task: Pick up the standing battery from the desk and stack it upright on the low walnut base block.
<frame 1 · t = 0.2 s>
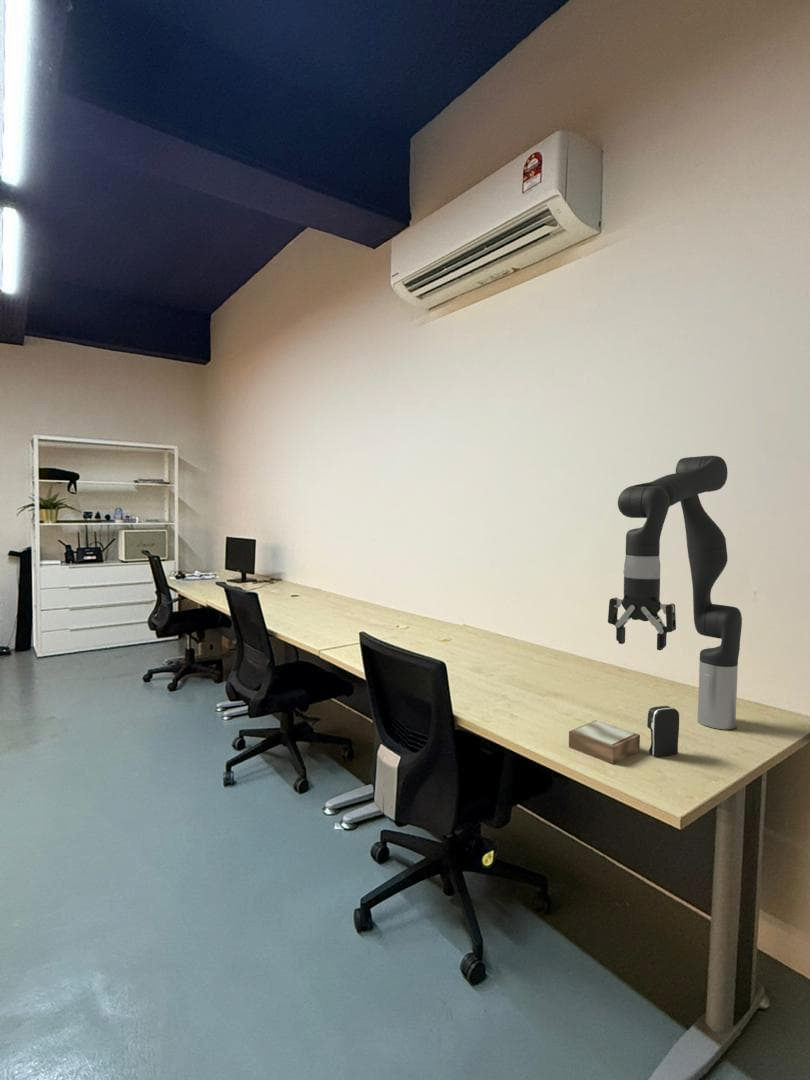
hand: (640, 646, 125), 28 cm above the table, fingers open, 8 cm apart
battery: (661, 754, 134), on the table
base: (603, 748, 136), on the table
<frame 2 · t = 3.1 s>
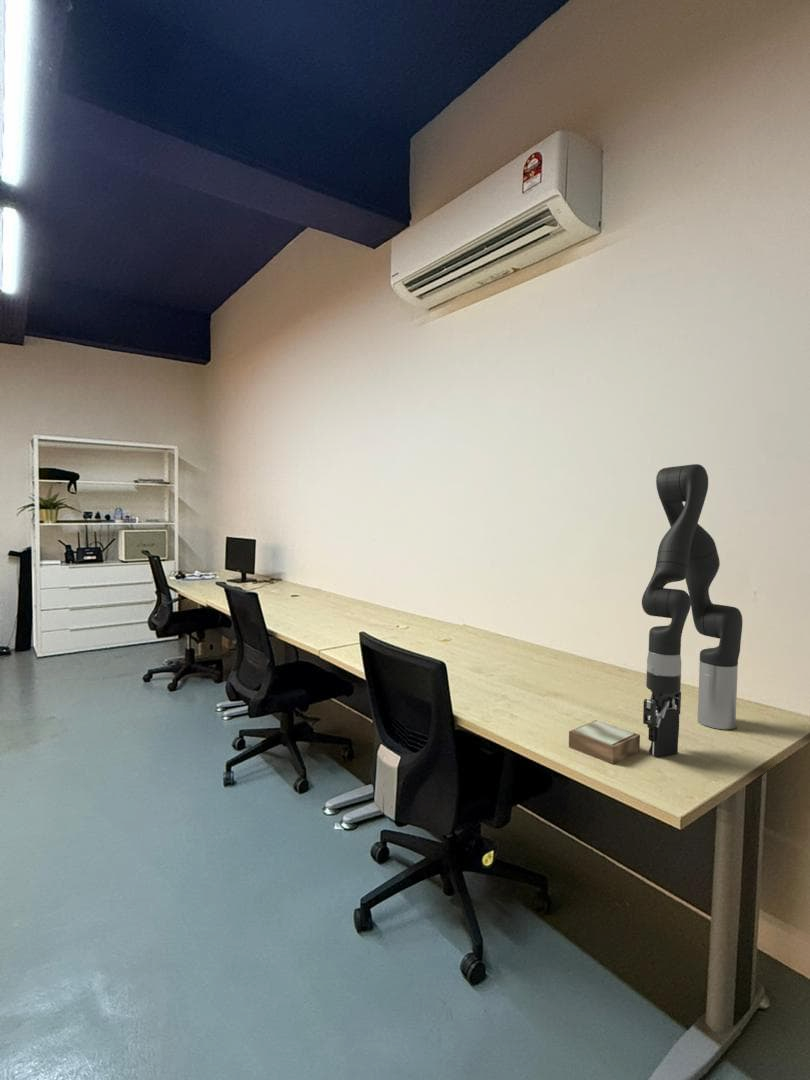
hand: (661, 737, 134), 4 cm above the table, fingers closed on battery, 7 cm apart
battery: (661, 754, 134), on the table, touching gripper
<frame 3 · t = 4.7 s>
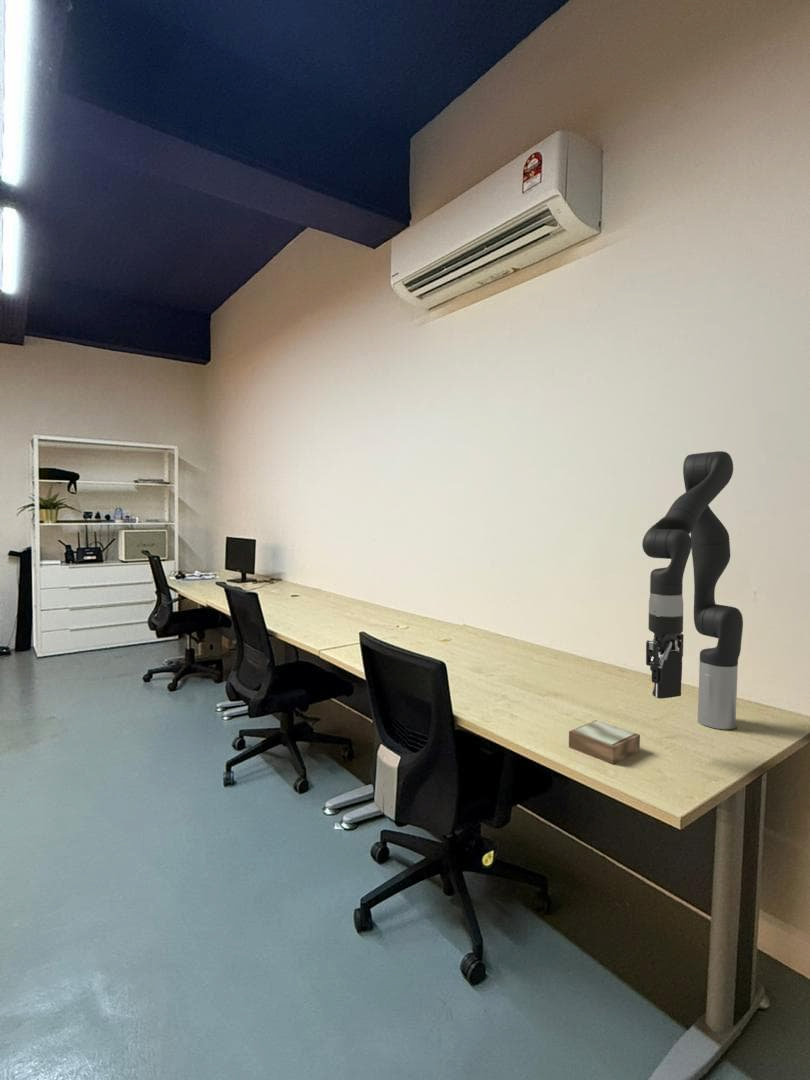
hand: (664, 679, 133), 18 cm above the table, fingers closed on battery, 7 cm apart
battery: (664, 696, 134), point 14 cm above the table, touching gripper
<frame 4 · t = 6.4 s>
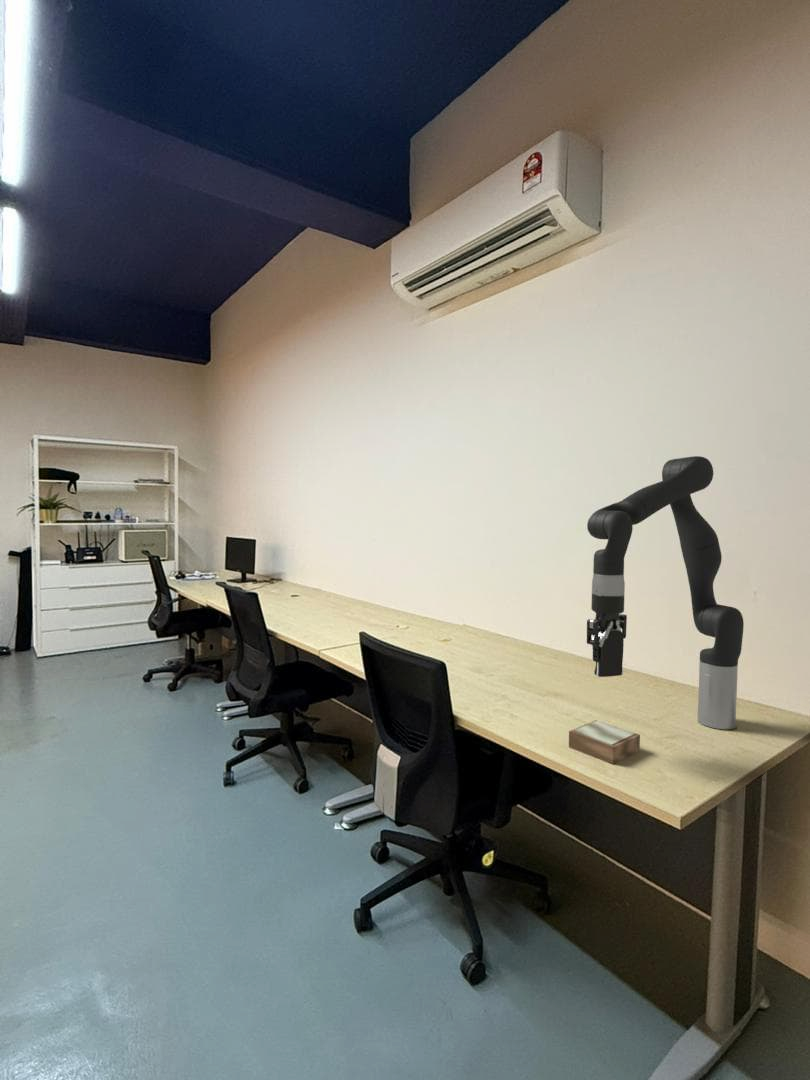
hand: (606, 658, 135), 23 cm above the table, fingers closed on battery, 7 cm apart
battery: (606, 675, 136), point 18 cm above the table, touching gripper
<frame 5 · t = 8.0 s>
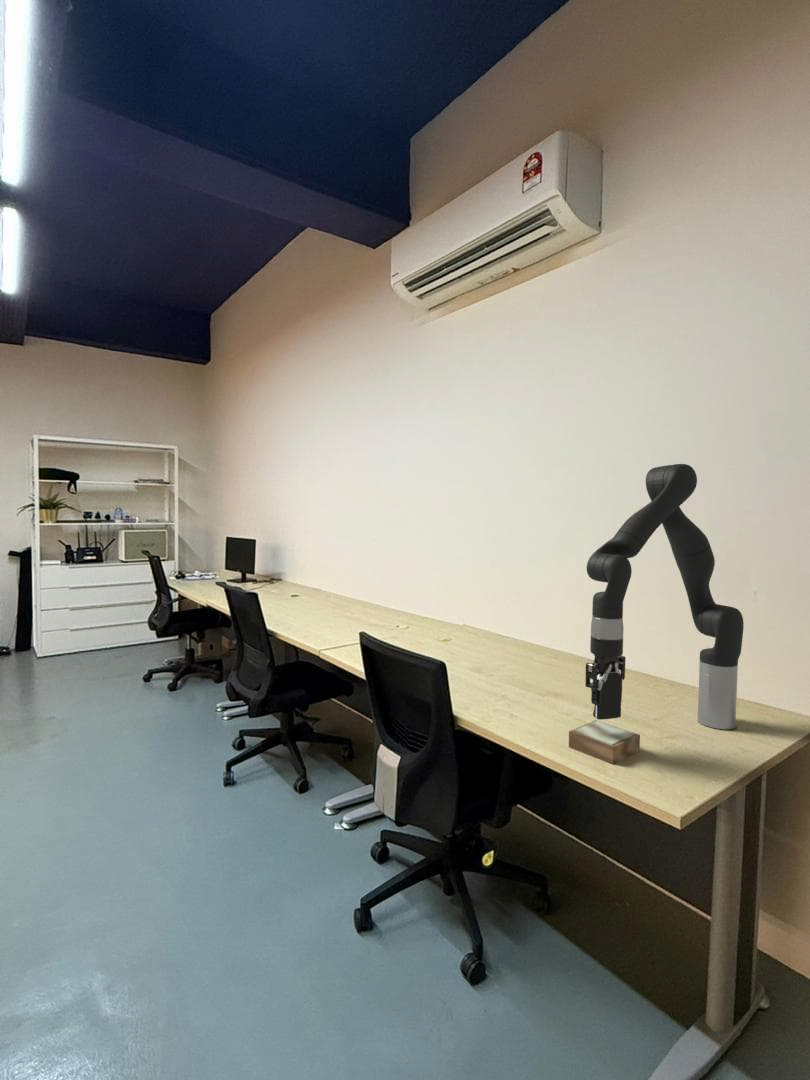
hand: (605, 700, 136), 12 cm above the table, fingers closed on battery, 7 cm apart
battery: (605, 717, 136), point 8 cm above the table, touching gripper
when the fingers open (9 cm above the table, at t = 9.5 s): battery stays where it is, resting on base.
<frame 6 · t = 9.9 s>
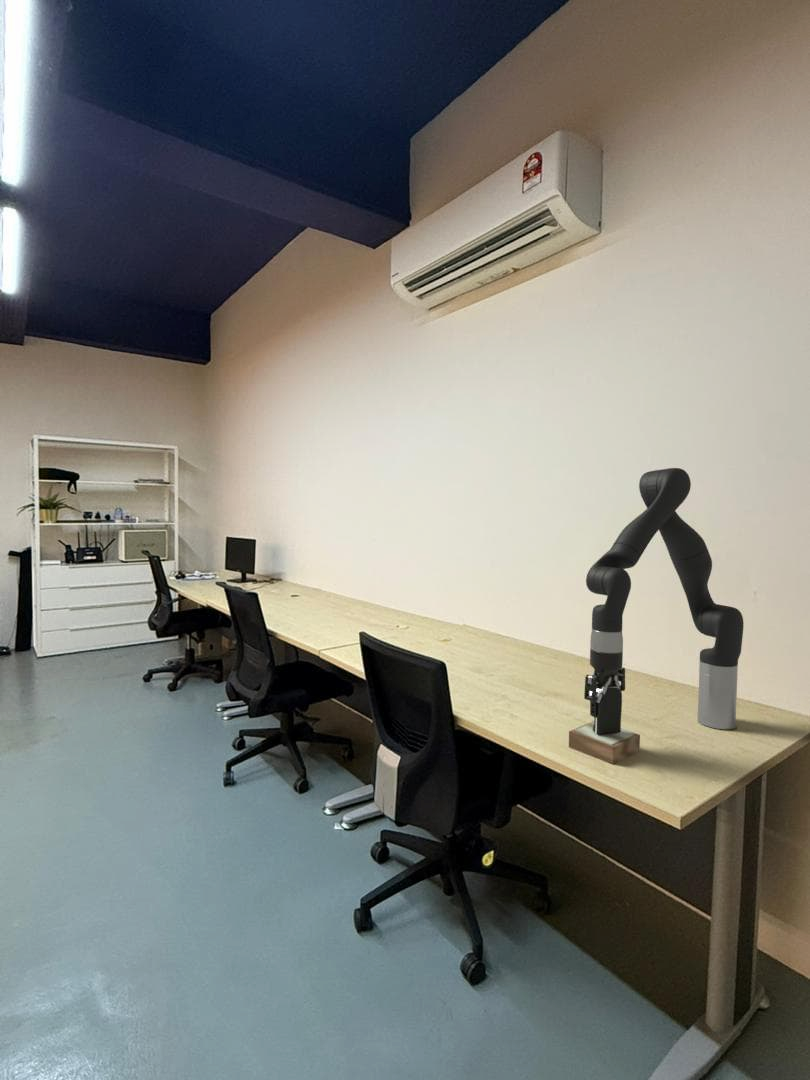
hand: (604, 712, 136), 9 cm above the table, fingers open, 8 cm apart
battery: (604, 732, 136), point 4 cm above the table, touching base
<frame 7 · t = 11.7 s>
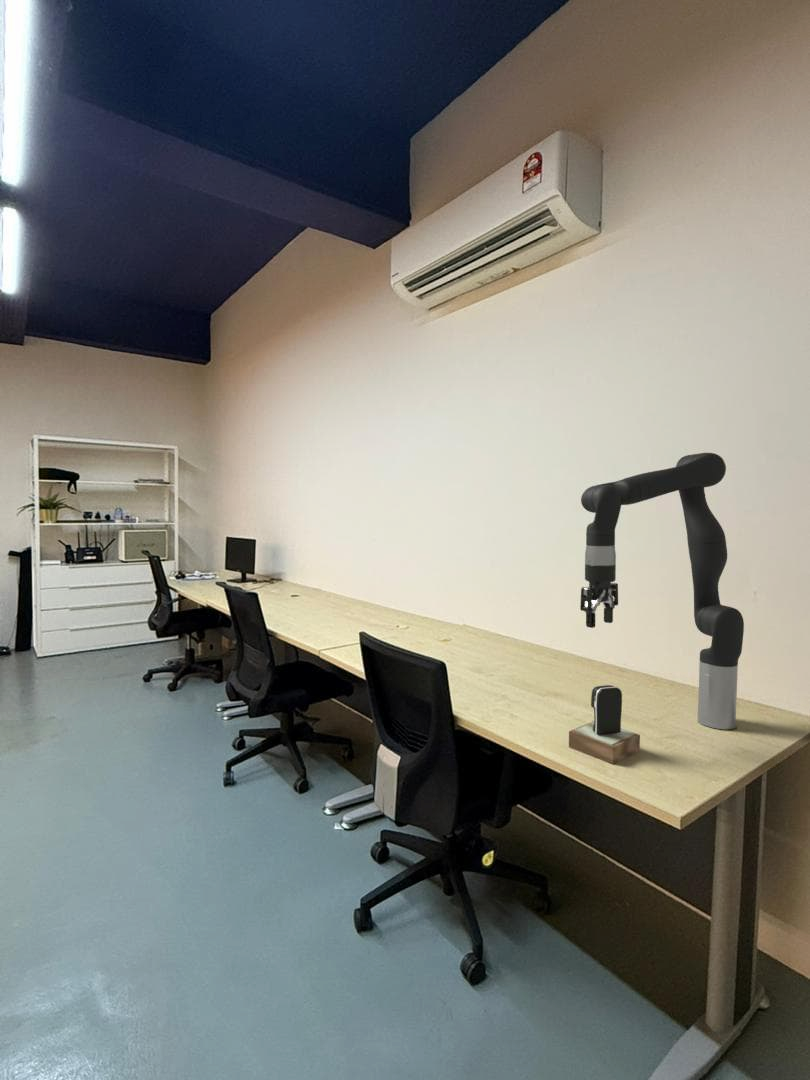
hand: (599, 624, 143), 29 cm above the table, fingers open, 8 cm apart
nothing on the table moved.
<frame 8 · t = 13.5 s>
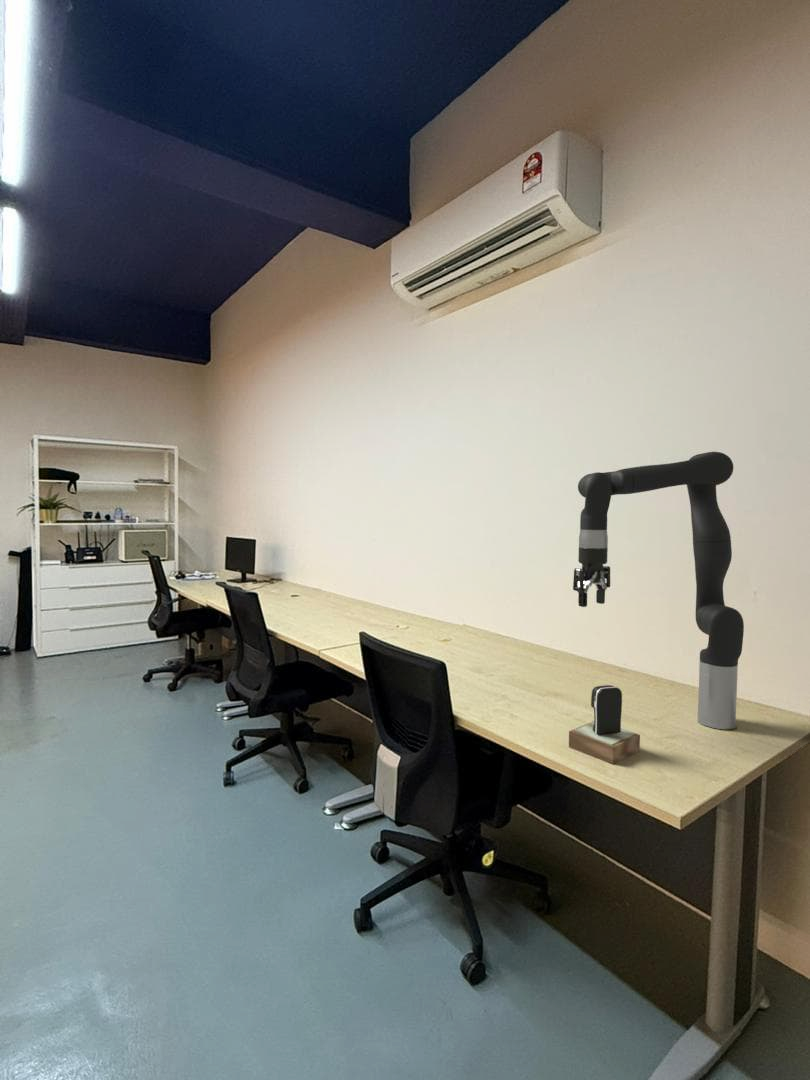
hand: (591, 604, 152), 33 cm above the table, fingers open, 8 cm apart
nothing on the table moved.
at the end: battery inside the target area on the base (0.2 cm from its centre), point 4.1 cm above the base's base; battery tilted 0°; the gripper is holding nothing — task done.
